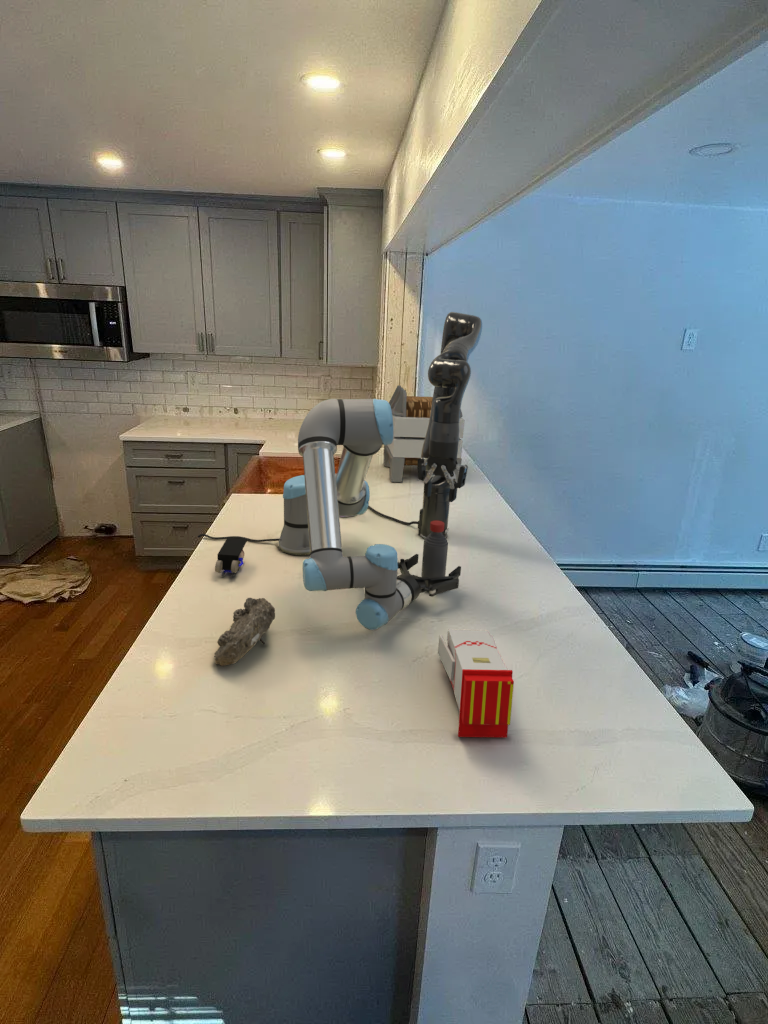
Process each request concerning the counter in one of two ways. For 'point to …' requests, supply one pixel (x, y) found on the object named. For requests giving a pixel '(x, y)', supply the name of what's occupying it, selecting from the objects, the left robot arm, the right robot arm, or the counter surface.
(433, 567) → the bottle
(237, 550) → the black toy car
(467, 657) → the toy
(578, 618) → the counter surface
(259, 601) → the fossil
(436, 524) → the cap
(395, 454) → the grey boxy piece
